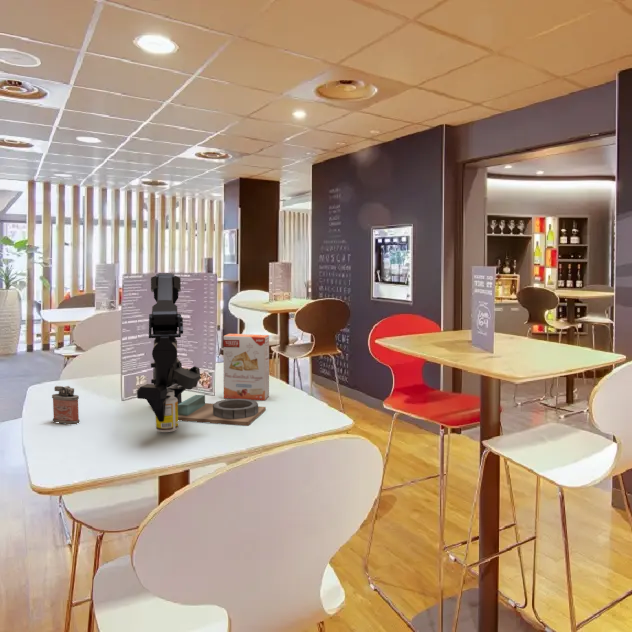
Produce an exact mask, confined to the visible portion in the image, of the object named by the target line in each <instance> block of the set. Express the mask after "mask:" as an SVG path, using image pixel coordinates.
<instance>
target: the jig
mask: <svg viewBox="0 0 632 632" xmlns="http://www.w3.org/2000/svg"><path fill="white" fill-rule="evenodd" d="M266 408H267V407H266V406H259V403H258V402H257V400H250V399H229V398H226V399H223V400H222V399H221V400H218V401H216V402H214V403H207V402H206V395H205V394H194V395H193V396H190V397H189V398H187V399H185V400H184V401H183V400H182V402H181V403H180V404H178V420H182V421H181V422H188V421H197V422H196V423H203V422H210V423H209V424H218V423H221V425H234V426H250V424H252V423H253V422H254V421H255V420H257V418H259V417H260V416H261V415H262V414H263V413H264V412H265V411H266V410H267V409H266Z"/></svg>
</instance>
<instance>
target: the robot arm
mask: <svg viewBox="0 0 632 632" xmlns="http://www.w3.org/2000/svg"><path fill="white" fill-rule="evenodd" d="M181 288H182V287H181V277H180V276H176V275H175V273H171V272H170V273H167V272H166V273H165V272H163V273H162V272H160V273H159V272H158V273H157V274H155V275H154V276H152V277H150V291H151V293H153V299H154V300H155V302H156V303H155V304H154V305H153V306H152V307H151V313H150V314H149V315H148V339H154V340H153V348H152V352H151V357H152V359H153V362H151V363H150V368H153V371H152V373H153V375H152V377H153V378H151V379H150V383H147V384H144V385H142V386H139V388H137V389H136V398H137V399H140V400H146V401H147V403H148V404H149V406H150V408H151V409H152V411H153V413H154V415H155V418H156V417H157V419H158V420H159V422H163V421H164V415H165V404H166V401H167V400H168V399H169V398H170V396H167V389H171V390H174V394H175V395H174V397H176V398H177V399H178V404H180V403H181V402H183V400H182V393H183V392H184V391H186V390H192V389H194V388H196V387H197V386H198V382H199V381H201V379H202V376H201V375H202V374H201V370H200V367H198V366H195V365H194V366H192V367H190V368H183V367H182V366H183V365H182V362H181V360H179V358H178V340H177V338H182V335H184V318H183V317H182V314H181V313H178V305H177V304H176V303H177V301H178V298H179V293H181Z"/></svg>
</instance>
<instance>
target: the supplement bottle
mask: <svg viewBox="0 0 632 632" xmlns="http://www.w3.org/2000/svg"><path fill="white" fill-rule="evenodd" d="M174 395H175V394H174V390H171V389H167V396H170V398H169V399H168V400H167V401H166V404H165V415H164V421H163V422H159V420H158V419H157V417H156V416H155V429H156V431H157V432H159V433H172V432H175V431H176V430H178V429H179V421H178V399H177V398H176V397H174Z"/></svg>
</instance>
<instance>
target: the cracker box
mask: <svg viewBox="0 0 632 632" xmlns="http://www.w3.org/2000/svg"><path fill="white" fill-rule="evenodd" d="M269 396H270V335H269V334H253V333H252V334H250V333H246V334H245V333H227V334H225V335H223V399H250V400H254V401H265V400H267V399H268V397H269Z"/></svg>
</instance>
